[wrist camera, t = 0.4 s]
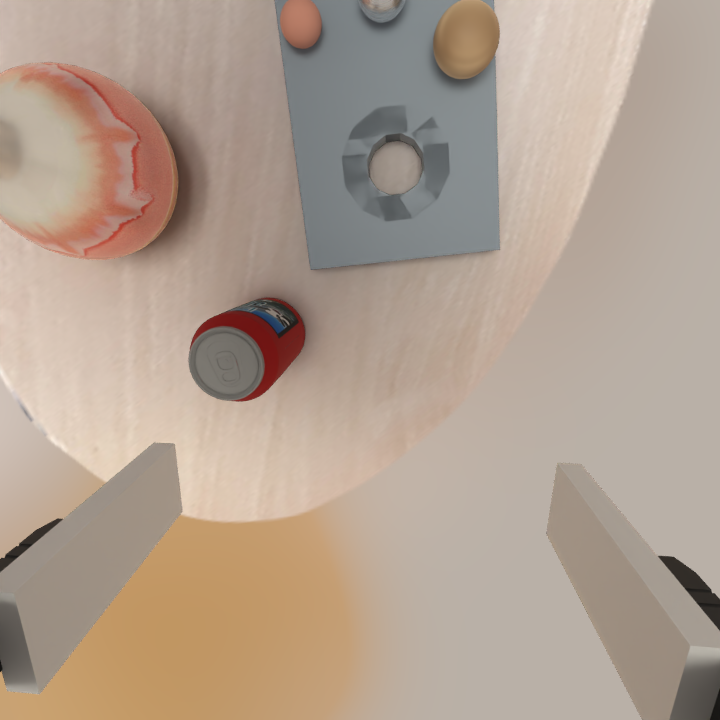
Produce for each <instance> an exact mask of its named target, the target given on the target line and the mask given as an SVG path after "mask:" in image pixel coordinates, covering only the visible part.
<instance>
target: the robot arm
mask: <svg viewBox="0 0 720 720" xmlns="http://www.w3.org/2000/svg"><path fill="white" fill-rule="evenodd" d="M181 513H182V502H181V494H180V485H179V476H178V468H177V459H176V450H175V444H170V443H153V444H152V445H151V446H149V447H148V448H147V449H146V450H145V451H143V452H142V453H141V454H140V455H139V456H138V457H136V458H135V459H134V460H133V461H132V462H130V463H129V464H128V465H127V466H126V467H124V468H123V469H122V470H121V471H120V472H119V473H117V474H116V475H115V476H114V477H113V478H111V479H110V480H109V481H108V482H107V483H106V484H104V485H103V486H102V487H101V488H100V489H98V490H97V491H96V492H95V493H94V494H92V496H90V497H89V498H88V499H87V500H85V501H84V502H83V503H82V504H81V505H79V506H78V507H77V508H76V509H75V510H74V511H72V512H71V513H70V514H69V515H68V516H66V517H65V518H64V519H56V520H54V521H52V522H50V523H48V524H47V525H45V526H43V527H41V528H39V529H37V530H36V531H34V532H33V533H32V534H31V535H30V536H28V537H27V538H26V539H24V540H23V541H22V542H21V543H20V544H19V546H16V547H15V548H13V549H12V550H11V551H10V552H9V553H7V554H6V556H5V558H1V559H0V672H1V671H2V674H3V678H4V681H5V685H6V688H7V691H11V692H22V693H32V694H40V693H41V692H42V691H43V689H44V688H45V687H46V685H47V684H48V683H49V682H50V680H51V679H52V678H53V676H54V675H55V674H56V673H57V671H58V670H59V669H60V668H61V666H62V665H63V664H64V662H65V661H66V660H67V659H68V657H69V656H70V655H71V653H72V652H73V651H74V649H75V648H76V647H77V646H78V644H79V643H80V642H81V641H82V639H83V638H84V637H85V635H86V634H87V633H88V631H89V630H90V629H91V628H92V627H93V625H94V624H95V623H96V621H97V620H98V619H99V617H100V616H101V615H102V614H103V612H104V611H105V610H106V609H107V607H108V606H109V605H110V603H111V602H112V601H113V600H114V598H115V597H116V596H117V595H118V593H119V592H120V590H121V589H122V588H123V587H124V586H125V584H126V583H127V582H128V580H129V579H130V578H131V576H132V575H133V574H134V573H135V571H136V570H137V569H138V567H139V566H140V565H141V564H142V563H143V561H144V560H145V559H146V557H147V556H148V555H149V553H150V552H151V551H152V550H153V548H154V547H155V545H157V543H158V542H159V541H160V539H161V538H162V537H163V536H164V534H165V533H166V532H167V530H168V529H169V528H170V527H171V525H172V524H173V523H174V522H175V520H176V519H177V518H178V516H179V515H180V514H181ZM546 534H547V536H548V538H549V540H550V542H551V543H552V546H553V548H554V550H555V552H556V553H557V555H558V557H559V559H560V561H561V563H562V565H563V567H564V569H565V571H566V573H567V575H568V577H569V579H570V581H571V583H572V585H573V587H574V589H575V590H576V592H577V594H578V596H579V598H580V600H581V602H582V604H583V606H584V608H585V610H586V612H587V614H588V615H589V618H590V620H591V622H592V623H593V625H594V627H595V629H596V631H597V633H598V635H599V637H600V639H601V641H602V643H603V645H604V647H605V649H606V651H607V653H608V654H609V656H610V658H611V660H612V662H613V664H614V666H615V668H616V670H617V672H618V674H619V676H620V678H621V680H622V682H623V684H624V686H625V687H626V689H627V691H628V693H629V695H630V697H631V699H632V701H633V703H634V705H635V707H636V709H637V711H638V713H639V715H640V717H641V718H642V720H720V599H719V598H718V597H717V596H716V594H714V593H712V592H711V589H710V588H709V587H708V586H707V585H706V583H705V582H704V581H703V580H702V579H701V578H700V577H699V576H698V575H697V574H696V572H694V571H693V570H691V569H690V568H689V567H687V566H686V565H684V564H683V563H682V562H680V561H679V560H677V559H676V558H675V557H669V556H657V555H656V554H655V552H654V551H653V550H652V549H651V548H650V546H649V545H648V544H647V543H646V542H645V540H644V539H643V538H642V537H641V535H639V533H638V532H637V531H636V530H635V528H634V527H633V526H632V525H631V523H630V522H629V521H628V520H627V519H626V517H625V516H624V515H623V514H622V513H621V511H620V510H619V509H618V508H617V507H616V506H615V504H614V503H613V502H612V501H611V499H610V498H609V497H608V496H607V495H606V493H605V492H604V491H603V490H602V489H601V487H600V486H599V485H598V484H597V483H596V482H595V480H594V479H593V478H592V477H591V475H590V474H589V473H588V472H587V471H586V469H585V468H584V467H583V466H582V465H581V464H570V463H557V468H556V474H555V480H554V487H553V493H552V500H551V506H550V513H549V519H548V525H547V532H546Z"/></svg>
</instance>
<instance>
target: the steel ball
mask: <svg viewBox="0 0 720 720" xmlns="http://www.w3.org/2000/svg"><path fill="white" fill-rule="evenodd" d="M358 1H359V5H360V7H361V9H362V11H363V12H364V14H365V15H366V16H367V17H368V18H369V19H371V20H373V21H375V22H379V23H383V22H388V21H390V20H392V19H393V18H395V17H396V16H397V15H398V14H399V13H400V11H401V10H402V8H403V6H404V4H405V1H406V0H358Z"/></svg>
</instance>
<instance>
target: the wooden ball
mask: <svg viewBox="0 0 720 720" xmlns="http://www.w3.org/2000/svg"><path fill="white" fill-rule="evenodd" d="M499 35H500V30H499V23H498V20H497V17H496V15H495V13H494V11H493V10H492V8H491V7H490V6H489V5H488V4H486V3H485V2H483V1H481V0H461V1H458V2H457V3H455V4H453V5H452V6H451V7H449V8H448V9H447V10H446V11H445V13H444V14H443V15H442V17H441V18H440V20H439V22H438V24H437V27H436V30H435V33H434V39H433V51H434V56H435V59H436V62H437V64H438V66H439V67H440V69H441V70H442V71H443V72H444V73H445V74H447V75H448V76H450V77H452V78H456V79H468V78H471V77H474V76H476V75H478V74H479V73H480V72H482V71H483V70H484V69H485V68H486V67H487V66H488V65H489V63H490V62H491V60H492V59H493V57H494V55H495V53H496V50H497V47H498V44H499Z"/></svg>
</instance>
